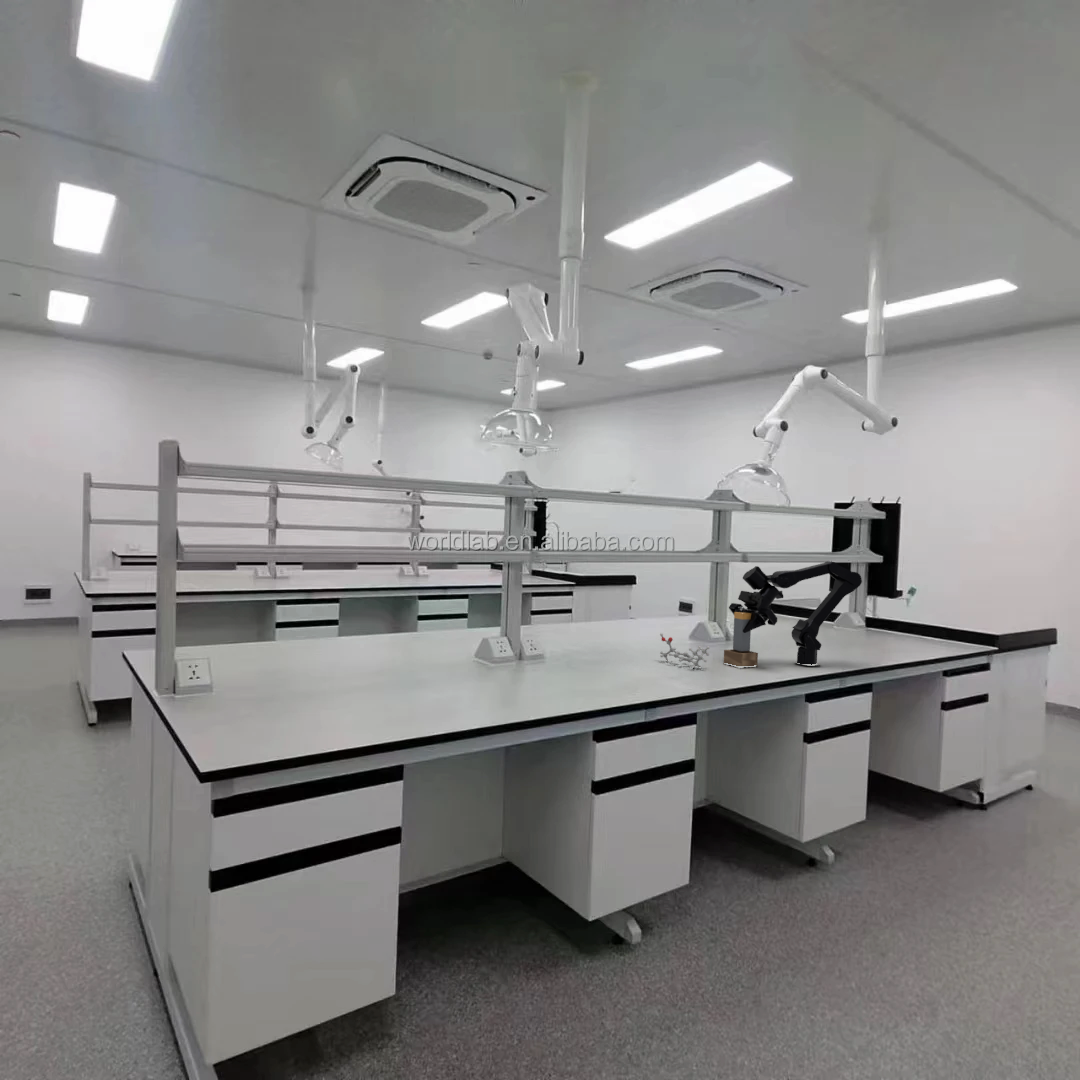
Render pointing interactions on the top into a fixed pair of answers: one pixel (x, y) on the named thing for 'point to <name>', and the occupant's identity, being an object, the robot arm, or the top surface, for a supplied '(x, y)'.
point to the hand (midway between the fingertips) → (739, 631)
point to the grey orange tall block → (741, 631)
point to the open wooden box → (740, 657)
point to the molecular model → (689, 658)
